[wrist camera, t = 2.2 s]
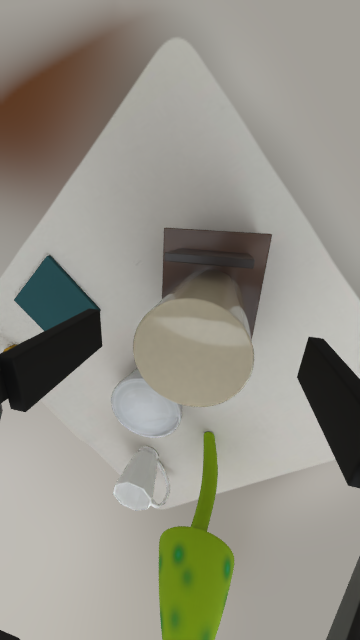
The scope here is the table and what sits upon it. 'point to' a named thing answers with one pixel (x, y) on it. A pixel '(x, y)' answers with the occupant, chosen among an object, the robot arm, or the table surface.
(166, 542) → the mushroom
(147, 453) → the cup
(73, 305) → the mat
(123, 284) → the table surface
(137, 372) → the ramekin
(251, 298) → the holder
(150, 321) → the cream cylinder
